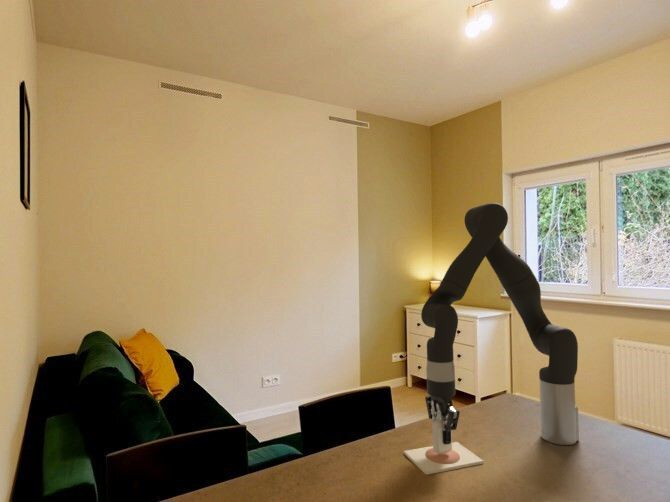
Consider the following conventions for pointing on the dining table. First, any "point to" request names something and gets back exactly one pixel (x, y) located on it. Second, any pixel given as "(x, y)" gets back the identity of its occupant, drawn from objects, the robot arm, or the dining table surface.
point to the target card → (442, 459)
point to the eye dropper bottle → (439, 437)
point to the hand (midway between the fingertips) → (442, 440)
